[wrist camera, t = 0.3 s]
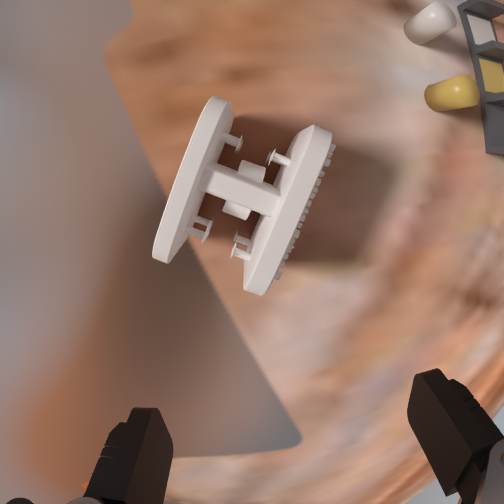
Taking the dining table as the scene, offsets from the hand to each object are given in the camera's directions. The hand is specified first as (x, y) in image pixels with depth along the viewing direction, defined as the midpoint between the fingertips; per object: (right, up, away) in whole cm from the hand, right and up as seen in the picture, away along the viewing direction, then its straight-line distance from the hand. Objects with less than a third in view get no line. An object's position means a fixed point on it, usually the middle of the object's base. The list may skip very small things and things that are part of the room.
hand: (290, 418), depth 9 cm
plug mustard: (+22, +24, +23) cm, 39 cm away
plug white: (+19, +32, +20) cm, 43 cm away
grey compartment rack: (+32, +29, +21) cm, 48 cm away
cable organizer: (-2, +12, +26) cm, 29 cm away
